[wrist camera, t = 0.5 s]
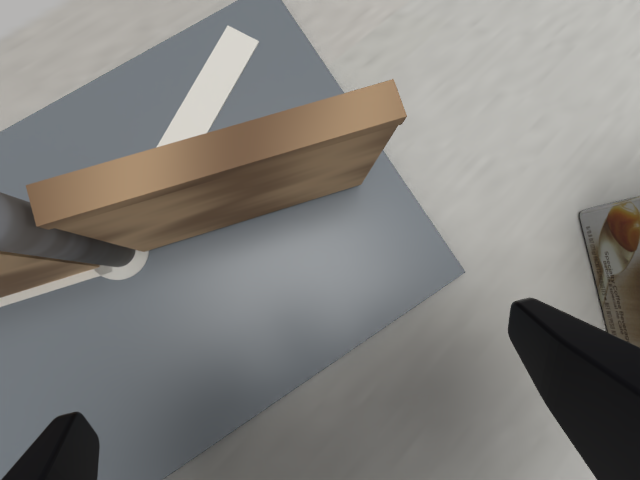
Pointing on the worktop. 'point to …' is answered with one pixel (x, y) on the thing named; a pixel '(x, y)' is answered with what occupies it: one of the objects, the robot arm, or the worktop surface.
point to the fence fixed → (46, 250)
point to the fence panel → (224, 173)
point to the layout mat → (201, 260)
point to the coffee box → (616, 263)
